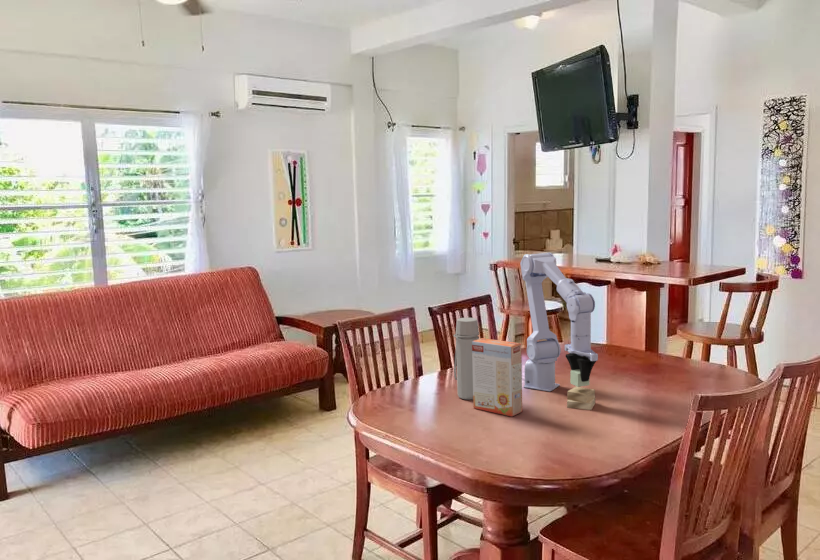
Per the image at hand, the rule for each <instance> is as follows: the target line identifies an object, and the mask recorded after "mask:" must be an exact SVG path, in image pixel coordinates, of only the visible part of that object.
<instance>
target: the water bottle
mask: <svg viewBox="0 0 820 560" xmlns="http://www.w3.org/2000/svg"><path fill="white" fill-rule="evenodd" d="M478 323H479V322H478V318H476V317H461V318H457V319H456V326H455V334H453V337H454V338H455V350H454V351H455V353H454V366H453V367H454V369H453V374H454V379H455V380H456V385H457V386H456V387H457V396H458V398H459V399H462V400H467V401H468V400H470V401H471V400H472V401H473V365H472V341H475V340H478V339H480V337H479V335H480V330H479V324H478Z"/></svg>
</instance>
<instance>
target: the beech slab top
mask: <svg viewBox="0 0 820 560" xmlns="http://www.w3.org/2000/svg"><path fill="white" fill-rule="evenodd" d="M566 395H567V397H566V398H567V401H568V400H573V401H578V402H584V403H587V402H589V401H590V400H592V399H593V398H595V399H596V389H593V388H587V387H583V386H581V387H577V386H574V387H573V388H571V389H569V390H567V393H566Z"/></svg>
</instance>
